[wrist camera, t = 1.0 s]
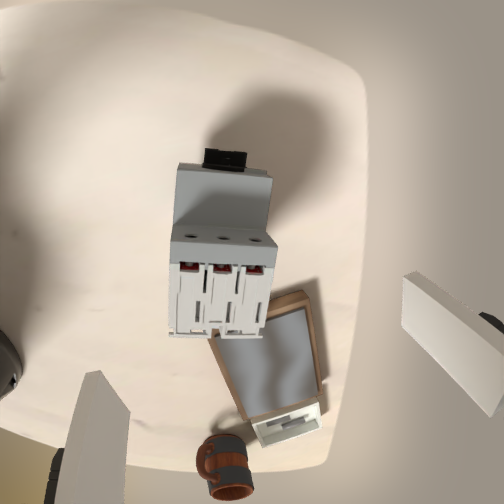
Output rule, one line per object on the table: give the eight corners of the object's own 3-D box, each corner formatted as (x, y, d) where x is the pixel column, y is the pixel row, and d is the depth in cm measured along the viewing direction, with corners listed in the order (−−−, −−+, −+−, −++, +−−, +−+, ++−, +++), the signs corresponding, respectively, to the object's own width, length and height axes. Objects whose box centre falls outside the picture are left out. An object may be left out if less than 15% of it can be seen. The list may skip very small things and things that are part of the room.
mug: (210, 420, 48) (219, 474, 37) (253, 442, 52) (266, 489, 42) (178, 439, 48) (182, 490, 38) (221, 459, 53) (230, 505, 42)
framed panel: (240, 409, 48) (244, 422, 45) (202, 320, 40) (204, 333, 37) (317, 384, 49) (324, 395, 46) (302, 289, 41) (310, 300, 39)
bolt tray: (259, 437, 52) (262, 448, 50) (248, 413, 48) (251, 424, 46) (317, 418, 53) (322, 427, 51) (313, 391, 50) (318, 401, 47)
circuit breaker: (248, 151, 34) (291, 160, 20) (234, 268, 38) (261, 340, 25) (182, 145, 32) (177, 147, 18) (173, 265, 37) (168, 339, 23)
